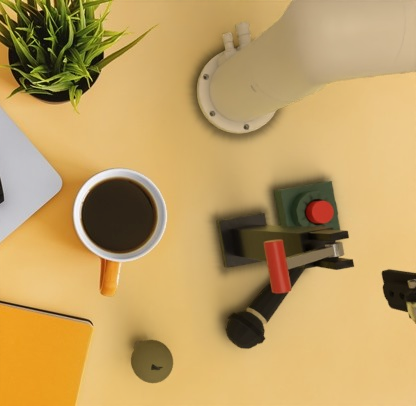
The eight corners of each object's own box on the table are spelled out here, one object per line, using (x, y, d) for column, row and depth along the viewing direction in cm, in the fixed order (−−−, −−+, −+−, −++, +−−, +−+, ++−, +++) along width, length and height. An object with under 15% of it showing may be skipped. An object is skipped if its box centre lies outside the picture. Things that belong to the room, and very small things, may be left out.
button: (303, 203, 79) (310, 202, 77) (324, 199, 79) (331, 198, 78) (307, 224, 79) (314, 225, 77) (328, 221, 79) (335, 221, 78)
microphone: (294, 235, 86) (214, 332, 82) (307, 225, 80) (222, 328, 76) (324, 258, 84) (244, 358, 80) (339, 249, 79) (255, 355, 75)
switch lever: (259, 242, 54) (274, 242, 52) (327, 225, 59) (342, 224, 58) (268, 292, 54) (283, 293, 52) (335, 270, 59) (351, 271, 58)
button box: (273, 190, 83) (286, 189, 79) (323, 181, 83) (338, 180, 79) (282, 242, 83) (295, 244, 79) (332, 233, 83) (348, 234, 79)
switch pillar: (216, 220, 82) (304, 222, 56) (261, 212, 82) (368, 211, 57) (224, 267, 82) (316, 289, 56) (269, 258, 82) (379, 277, 57)
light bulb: (127, 372, 80) (142, 394, 70) (117, 335, 80) (130, 352, 70) (163, 360, 81) (183, 381, 71) (153, 324, 81) (171, 339, 71)
